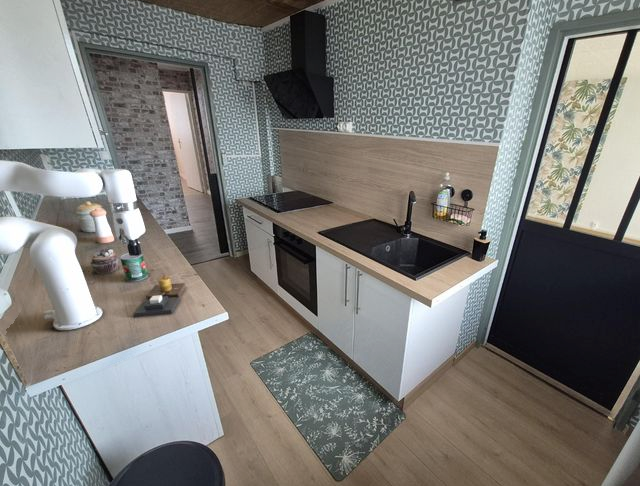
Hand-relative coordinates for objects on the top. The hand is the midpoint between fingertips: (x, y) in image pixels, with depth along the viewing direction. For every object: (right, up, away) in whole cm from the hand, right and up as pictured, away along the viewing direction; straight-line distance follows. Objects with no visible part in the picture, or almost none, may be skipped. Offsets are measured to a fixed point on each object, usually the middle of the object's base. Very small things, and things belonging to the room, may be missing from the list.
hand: (135, 254), depth 107 cm
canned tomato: (-19, -12, +24) cm, 33 cm away
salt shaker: (-64, +5, +60) cm, 88 cm away
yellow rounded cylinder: (+3, -15, +12) cm, 19 cm away
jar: (-85, +13, +75) cm, 114 cm away
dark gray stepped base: (+5, -21, +4) cm, 22 cm away
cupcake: (-37, -9, +29) cm, 48 cm away
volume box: (+3, -17, +13) cm, 22 cm away
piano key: (+5, -18, +3) cm, 19 cm away
